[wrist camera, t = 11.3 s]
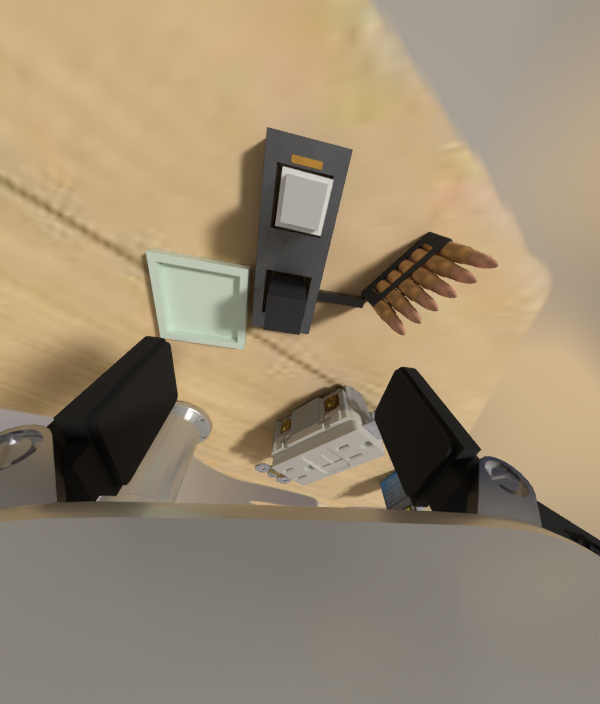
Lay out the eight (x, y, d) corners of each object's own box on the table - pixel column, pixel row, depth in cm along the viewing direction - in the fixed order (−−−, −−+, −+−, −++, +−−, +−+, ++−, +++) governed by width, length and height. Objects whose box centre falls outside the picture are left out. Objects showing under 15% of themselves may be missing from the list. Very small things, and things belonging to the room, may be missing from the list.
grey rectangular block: (313, 226, 27) (321, 236, 19) (280, 218, 27) (274, 226, 19) (321, 186, 25) (334, 179, 17) (285, 176, 25) (282, 165, 17)
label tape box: (390, 485, 63) (408, 541, 53) (378, 482, 62) (394, 538, 52) (411, 470, 59) (436, 527, 48) (399, 466, 57) (422, 524, 47)
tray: (245, 343, 36) (243, 349, 35) (166, 331, 35) (160, 337, 33) (250, 266, 30) (248, 269, 28) (153, 248, 28) (145, 250, 27)
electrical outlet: (401, 398, 43) (422, 447, 35) (290, 449, 55) (287, 495, 47) (368, 361, 38) (385, 409, 30) (254, 426, 50) (244, 473, 42)
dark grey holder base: (351, 331, 35) (366, 366, 28) (254, 316, 34) (243, 349, 26) (408, 171, 24) (458, 158, 17) (269, 135, 23) (258, 102, 15)
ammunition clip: (368, 301, 33) (401, 346, 23) (360, 293, 32) (390, 335, 22) (436, 242, 29) (513, 265, 19) (429, 231, 28) (505, 248, 18)
